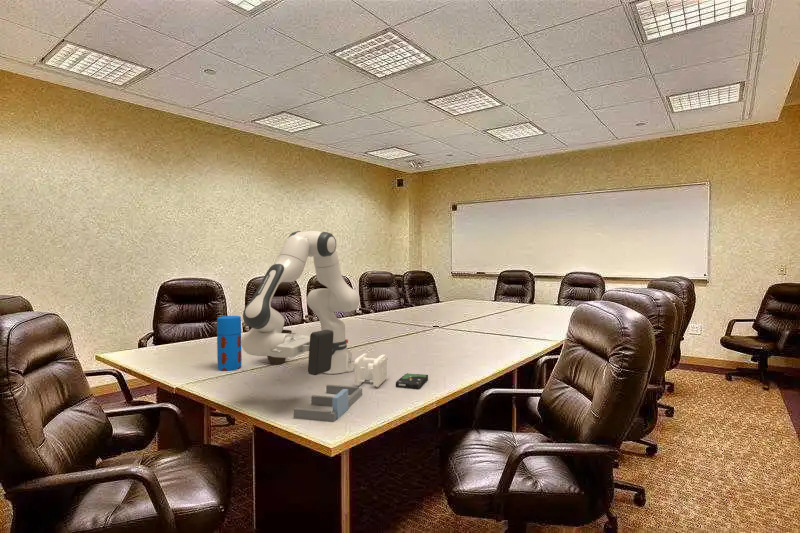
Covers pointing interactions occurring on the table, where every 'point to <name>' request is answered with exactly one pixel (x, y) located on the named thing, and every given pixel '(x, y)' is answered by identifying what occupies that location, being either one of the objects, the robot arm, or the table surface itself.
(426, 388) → the table surface
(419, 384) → the disk drive
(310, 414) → the comb rack
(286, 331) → the plant pot
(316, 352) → the card reader
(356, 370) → the cable organizer
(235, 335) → the thermos
